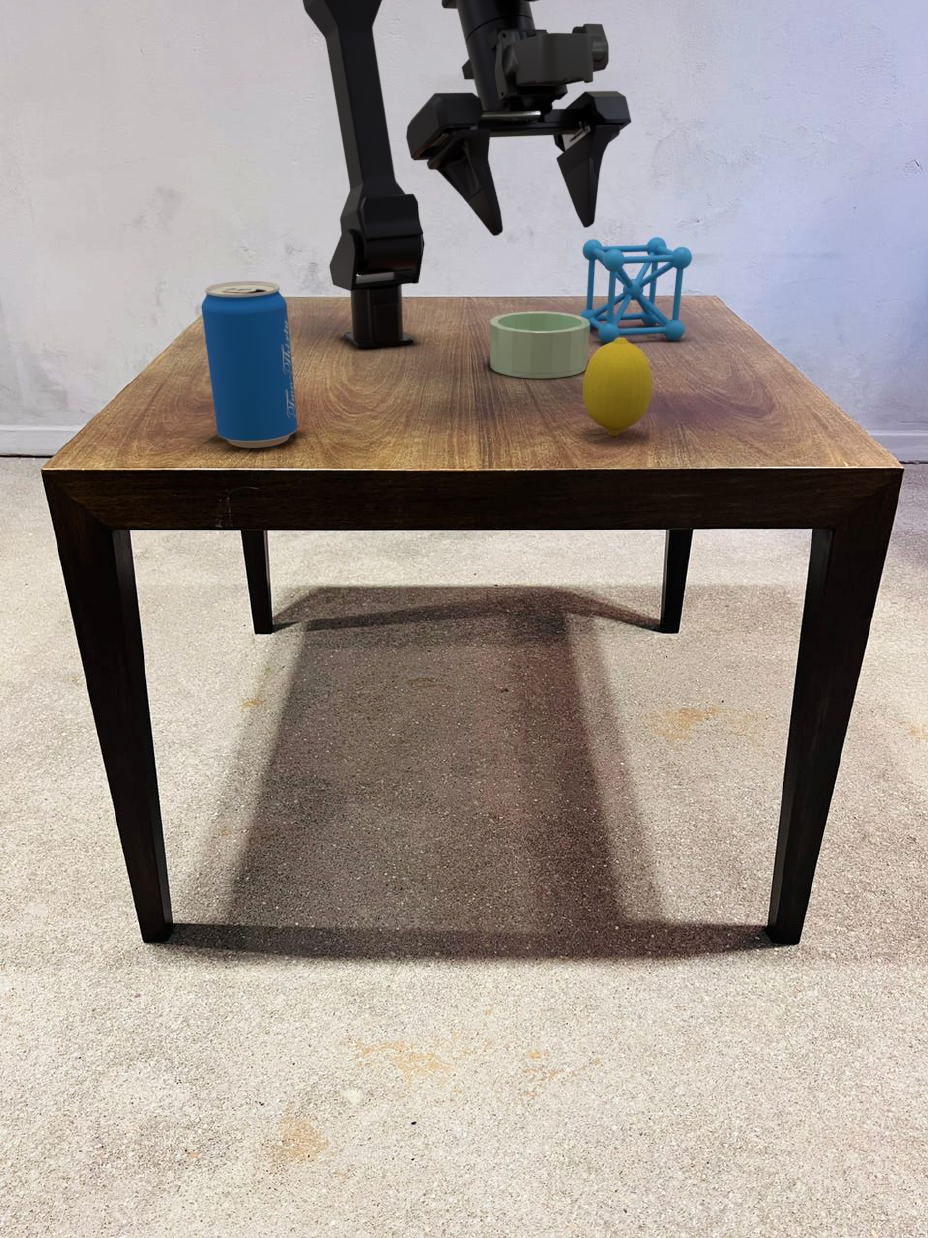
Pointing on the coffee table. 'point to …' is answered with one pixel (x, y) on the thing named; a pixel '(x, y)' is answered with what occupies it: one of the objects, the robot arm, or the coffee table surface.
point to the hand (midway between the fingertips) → (544, 229)
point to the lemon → (617, 386)
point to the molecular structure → (635, 288)
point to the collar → (539, 344)
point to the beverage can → (250, 363)
